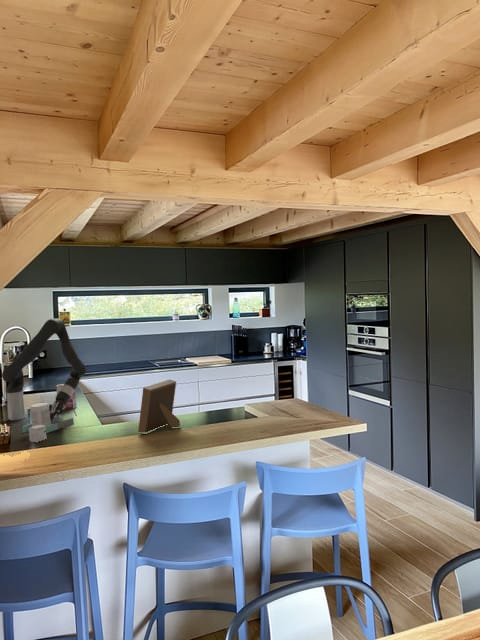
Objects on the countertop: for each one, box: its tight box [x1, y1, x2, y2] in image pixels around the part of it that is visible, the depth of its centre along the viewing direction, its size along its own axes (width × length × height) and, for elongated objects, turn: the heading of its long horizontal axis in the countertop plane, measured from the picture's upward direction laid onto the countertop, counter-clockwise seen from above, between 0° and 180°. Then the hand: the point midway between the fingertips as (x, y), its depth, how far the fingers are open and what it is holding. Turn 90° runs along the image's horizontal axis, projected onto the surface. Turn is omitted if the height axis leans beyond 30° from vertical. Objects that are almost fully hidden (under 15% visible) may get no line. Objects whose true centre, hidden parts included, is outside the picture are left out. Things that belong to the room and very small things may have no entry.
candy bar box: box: [55, 383, 77, 410], centre depth 318 cm, size 11×5×16 cm, turn 80°
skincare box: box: [28, 425, 48, 443], centre depth 248 cm, size 6×6×7 cm
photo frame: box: [137, 379, 181, 433], centre depth 250 cm, size 15×22×25 cm
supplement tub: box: [30, 402, 51, 426], centre depth 267 cm, size 10×10×15 cm
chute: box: [22, 415, 75, 434], centre depth 271 cm, size 15×22×4 cm
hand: (49, 419), depth 271 cm, fingers closed
